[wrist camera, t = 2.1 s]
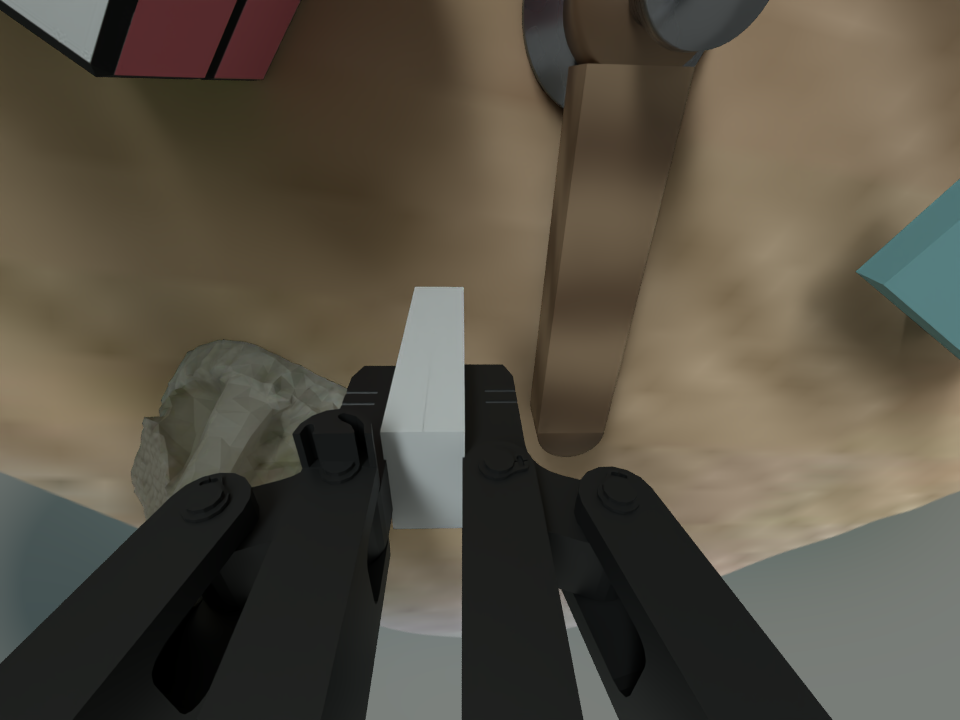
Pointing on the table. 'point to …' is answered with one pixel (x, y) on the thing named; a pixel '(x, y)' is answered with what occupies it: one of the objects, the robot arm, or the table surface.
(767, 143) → the table surface
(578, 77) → the walnut link
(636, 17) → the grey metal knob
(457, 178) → the table surface
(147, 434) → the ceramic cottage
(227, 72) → the puzzle cube
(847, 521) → the table surface
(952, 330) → the block
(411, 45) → the table surface
